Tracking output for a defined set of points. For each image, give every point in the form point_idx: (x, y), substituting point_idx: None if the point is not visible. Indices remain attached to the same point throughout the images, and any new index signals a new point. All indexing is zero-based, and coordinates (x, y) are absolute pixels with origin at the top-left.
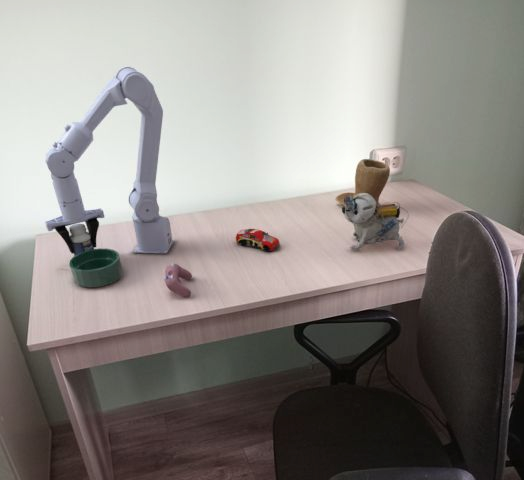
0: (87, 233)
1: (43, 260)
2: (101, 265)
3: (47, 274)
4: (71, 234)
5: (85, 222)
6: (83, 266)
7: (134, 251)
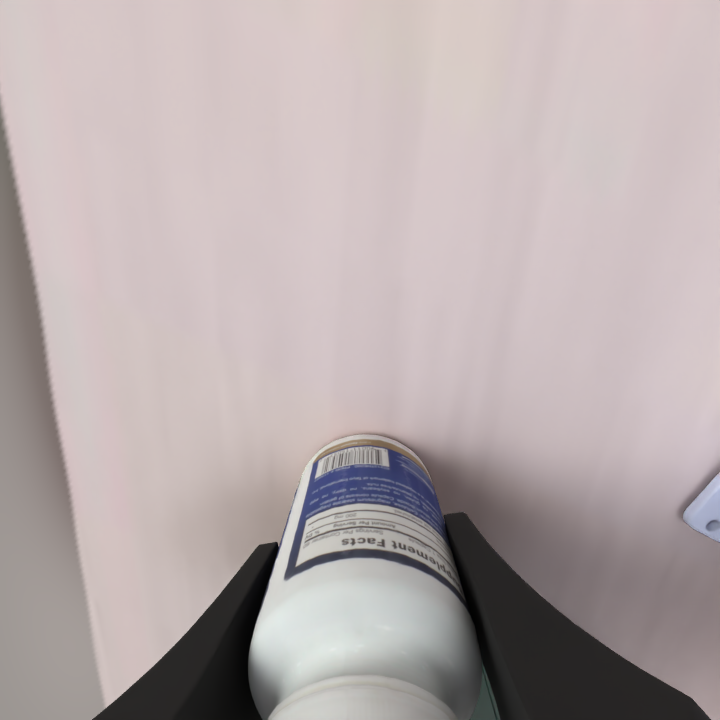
0: (461, 717)
1: (72, 357)
2: None
3: (130, 557)
4: (271, 672)
5: (522, 701)
6: None
7: (695, 527)
